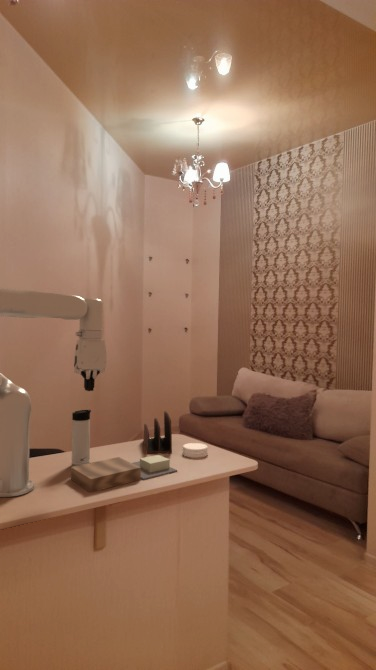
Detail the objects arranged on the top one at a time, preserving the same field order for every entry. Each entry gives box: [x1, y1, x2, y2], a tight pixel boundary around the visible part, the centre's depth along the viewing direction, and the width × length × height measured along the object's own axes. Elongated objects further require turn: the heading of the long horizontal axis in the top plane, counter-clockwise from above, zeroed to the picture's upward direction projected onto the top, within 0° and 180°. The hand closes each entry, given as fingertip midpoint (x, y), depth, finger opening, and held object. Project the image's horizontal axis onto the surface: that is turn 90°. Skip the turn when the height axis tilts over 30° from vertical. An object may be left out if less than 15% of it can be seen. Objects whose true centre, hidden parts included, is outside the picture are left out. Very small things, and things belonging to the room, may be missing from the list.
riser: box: [70, 456, 142, 493], centre depth 145 cm, size 18×14×4 cm
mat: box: [131, 460, 178, 481], centre depth 156 cm, size 14×16×1 cm
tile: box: [139, 454, 171, 472], centre depth 156 cm, size 8×7×3 cm
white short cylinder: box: [182, 442, 209, 459], centre depth 175 cm, size 10×10×4 cm
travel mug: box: [71, 409, 92, 467], centre depth 159 cm, size 6×7×20 cm
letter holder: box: [142, 410, 173, 455], centre depth 184 cm, size 10×20×14 cm, turn 10°
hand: (89, 390), depth 148 cm, fingers closed
